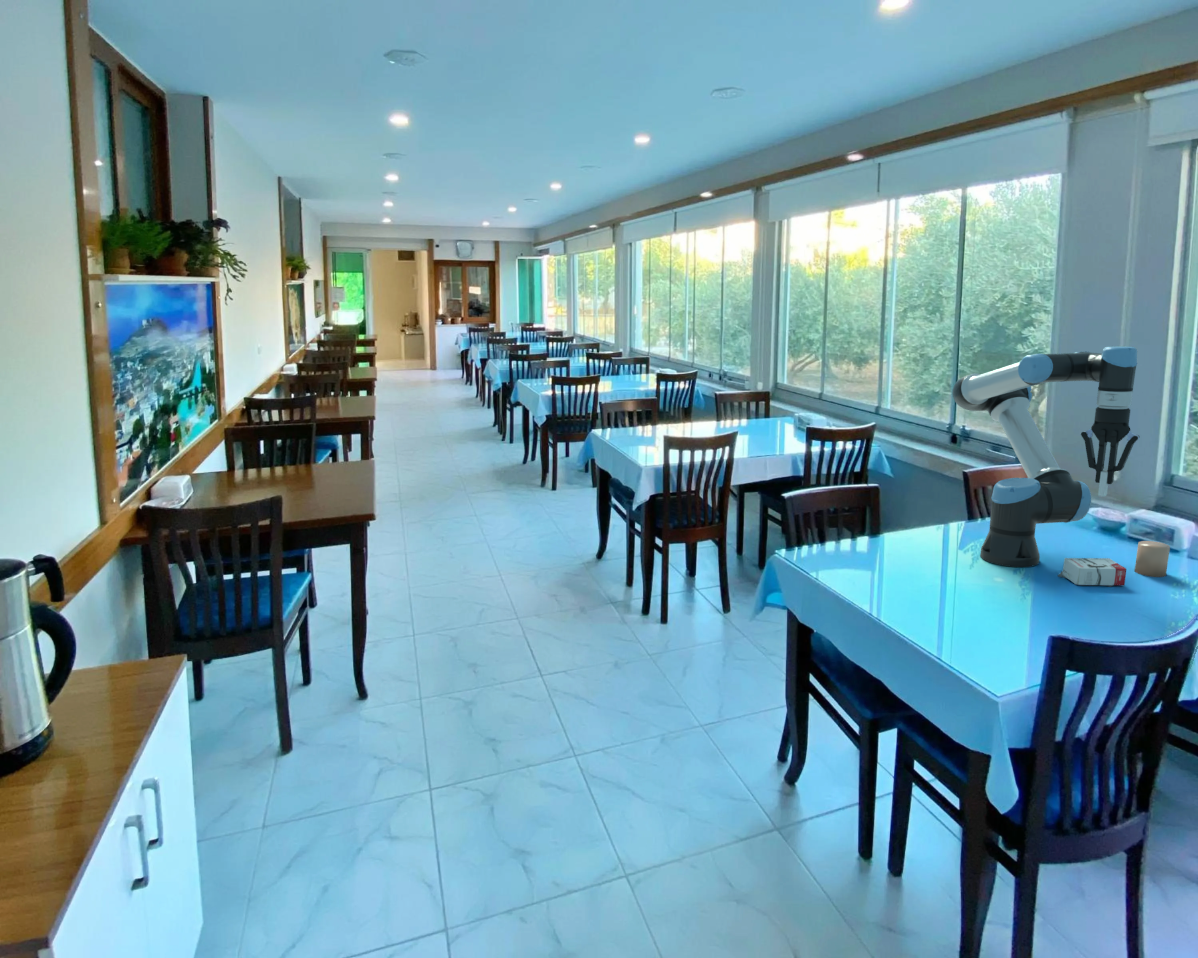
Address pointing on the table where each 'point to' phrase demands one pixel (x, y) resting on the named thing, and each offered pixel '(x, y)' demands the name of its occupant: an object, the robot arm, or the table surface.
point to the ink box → (1094, 571)
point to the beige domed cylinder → (1152, 558)
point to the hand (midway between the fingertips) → (1102, 495)
